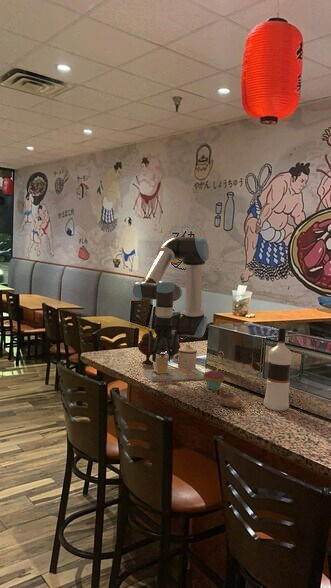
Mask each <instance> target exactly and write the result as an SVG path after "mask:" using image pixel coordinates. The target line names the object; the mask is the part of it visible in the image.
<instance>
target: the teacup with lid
mask: <svg viewBox="0 0 331 588" xmlns="http://www.w3.org/2000/svg"><path fill="white" fill-rule="evenodd" d="M178 351H179V354H175V355H173V357H172V358H173V362H174V363H175V364H177V368H195V369H196V367H197V366H196V365H197V364H196V363H197V353H198V351H197V348H194V347H192V346H191V344H189V343H187V344H185V346H183V347H181V348H179V350H178ZM177 356H178V357H177ZM176 357H177V360H176Z"/></svg>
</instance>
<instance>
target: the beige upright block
mask: <svg viewBox="0 0 331 588" xmlns="http://www.w3.org/2000/svg"><path fill="white" fill-rule="evenodd" d="M167 361H168V358H167V357H166V356H165V355H162V354H158V360H157V370H155V369H154V368H153V369H154V373H155V374H156V375H161V374H167ZM168 362H169V361H168Z"/></svg>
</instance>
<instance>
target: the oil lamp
mask: <svg viewBox="0 0 331 588" xmlns="http://www.w3.org/2000/svg"><path fill="white" fill-rule="evenodd" d="M216 395H217V399H218V402H219V404H221V405H222V406H225V407H228V408H232V409H233V408H234V409H239V408H241V407H242V406H243V401H241V399H240V398H239V397H238V396H236V395H233V394H229V393H225V392H224V389H223V388H221V387H219V388H218V389H216Z"/></svg>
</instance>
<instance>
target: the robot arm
mask: <svg viewBox="0 0 331 588" xmlns="http://www.w3.org/2000/svg"><path fill="white" fill-rule="evenodd" d="M209 252H210V251H209V244H208V242H207V239H205V238H203V237H191V236H188V237H187V236H175V237H172V238H169V239H168V240H166V241H164V242H163V243H162V244H161V245H160V246H159V248H158V250H157V252H156V257H155V259H154V260H153V262H152V264H151V266H150V267H149V269H148V271H147V272H146V274H145V276H144V278H143V279H142V281H136V282H135V283H133V286H132V294H133V295H132V296H133V297H135V298H137V299H141V300H155V317H154V326H153V329H148V330H147V333H148V334H149V344H148V352H150V353H152V355H151V362H153V368H152V369H155V370H157V360H158V356H159V354H158V353H161V352H165V351H167V353H165V355H164V356H166V357H167V358H168V361H167V369H169V362H171V356H174V355H175V354H179V351H178V350H179V348H182V347H181V344H180V343H181V342H180V340H179V337H180V336H184V337H190V338H191V337H193V338H202V337H203V336H204V334H205V332H206V329H207V324H208V317H207V316H206V315H205V312H204V310H203V309H202V297H203V296H202V290H203V289H202V288H203V287H202V284H203V267H204V266H205V264H206V262H207V261H208V260H209V258H210V257H209V255H210V253H209ZM174 260H182V265H183V266H185V305H184V307H185V309H184V310H183V311H182V313H181V311H180V310H174V302H177V301H178V300H179V299H180V298H181V297H182V296H183V290H182V288H181V286H179V285H178V284H175V282H174V281H169V280H162V278H163V276H164V275H165V273H166V272H167V269H168V267H169V266H170V264H171V263H173V262H174ZM154 334H155V338H156V339H155V343H154V347H153V337H154ZM159 345H160V346H159ZM158 346H159V349H158ZM157 349H158V351H157Z"/></svg>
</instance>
